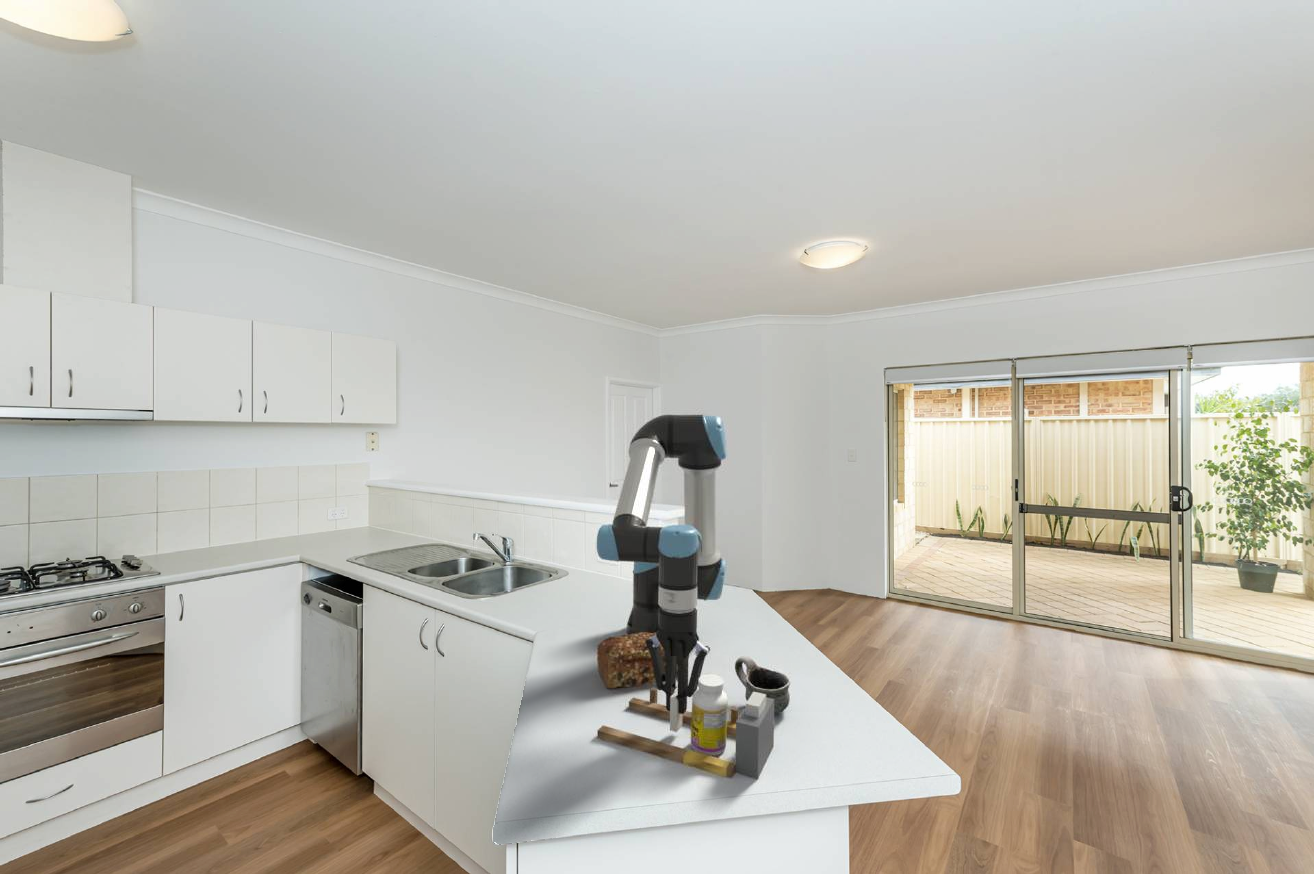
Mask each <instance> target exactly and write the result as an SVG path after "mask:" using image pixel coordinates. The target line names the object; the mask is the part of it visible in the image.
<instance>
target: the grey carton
mask: <svg viewBox="0 0 1314 874" xmlns="http://www.w3.org/2000/svg"><path fill="white" fill-rule="evenodd" d="M774 737H775V715H774V699H772V698H768V697H766V694H762V693H758V692H753V693H752V695H751V696H750V698H749V699H748V701H747V700H746V703H745V707H744V708H743V710H742V712H741V713H740V715H738V719H737V721H736V737H735V757H734V758H735V759H734V762H733V763H734V764H735V774H737V775H741V776H744V777H748V778H752V779H754V780H759V778H760V776H761V774H762V772H763V769H764V767H765V765H766V763H767V761H768V759H769V757H770V755H771V752H772V751H773V749H774V743H775V741H774V739H775V738H774Z"/></svg>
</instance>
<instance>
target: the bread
mask: <svg viewBox="0 0 1314 874" xmlns="http://www.w3.org/2000/svg"><path fill="white" fill-rule="evenodd" d="M655 635H656V633H648V632H643V633H632V634H629V635H628V634H622V635H620V636H608V637H607V638H604V639H603V640H601V641H600V642H599V643H598V644H597V652H596V653H597V656H596V659H597V668H598V669H597V670H598V673H599V677H600V678H601V681H602V682H603V684H604V686H605V687H606V688H607V689H613V690H614V689H615V690H616V688H617V687H622V688H625V687H626V688H627V687H629V688H630V687H636V686H643V685H650V684H651V685H652V684H656V681H655V675H654V670H653V665H652V660H651V655H650V651H649V649H648V648H647V646H646V644H645V641H646V640H647V639H648V638H650V637H651V636H655ZM660 648H661V653H662V658H663V663H664V668H665V669H666V660H665V651H664V649H663V648H662V646H661V644H660ZM676 680H678V663H677V656H676Z"/></svg>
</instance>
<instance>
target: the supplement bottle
mask: <svg viewBox="0 0 1314 874" xmlns="http://www.w3.org/2000/svg"><path fill="white" fill-rule="evenodd" d="M723 689H724V679H723V678H722V677H721V676H719V675H716V674H712V673H710V674H704V675H700V677H699V679H698V687H697V690H696V691H695V692H694V694H693V695H692V697H691V699H692V700H691V701H692V702H691V703H692V704H691V712H692V721H691V725H690V727H691V728H690V746H691V748H692V750H693V751H694V752H698V753H701V754H705V755H708V756H712V757H715V756H719V755H721V754H722V753H723V752H724V751H725V750H726V747H727V736H728V735H727V721H728V709H729V699H728V696H727V694H726V692H725V691H724V690H723Z"/></svg>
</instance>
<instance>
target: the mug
mask: <svg viewBox="0 0 1314 874" xmlns="http://www.w3.org/2000/svg"><path fill="white" fill-rule="evenodd" d="M743 664H744V665H745V667H746V669H745V671H746V672H745V671H744V667H743ZM734 671H735V674H736V676H737V677H738V680H739V681H740V682H741V683H742V685H743V686H744V687H745V700H746V702H747V701H748V699H749V698H750V696H751V695H752V693H753V692H758V693H762V694H766V697H768V698H772V699H774V716H776V715H779V714H781V713H783V712H784V711H785V710H786V709H787V708H788V707H789V704H790V696H791V695H790V692H789V687H790V685H791V680H790V679H791V678H790V677H789V676H787V675H786V674H785V673H782V672H780V671H777V670H772V669H769V668H767V667H761V666H758V665H757V663H756V661H755V660H754V659H753V658H751V657H750V656H747V655H743V656H740V657H738V658H737V659H736V660H735V664H734Z"/></svg>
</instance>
